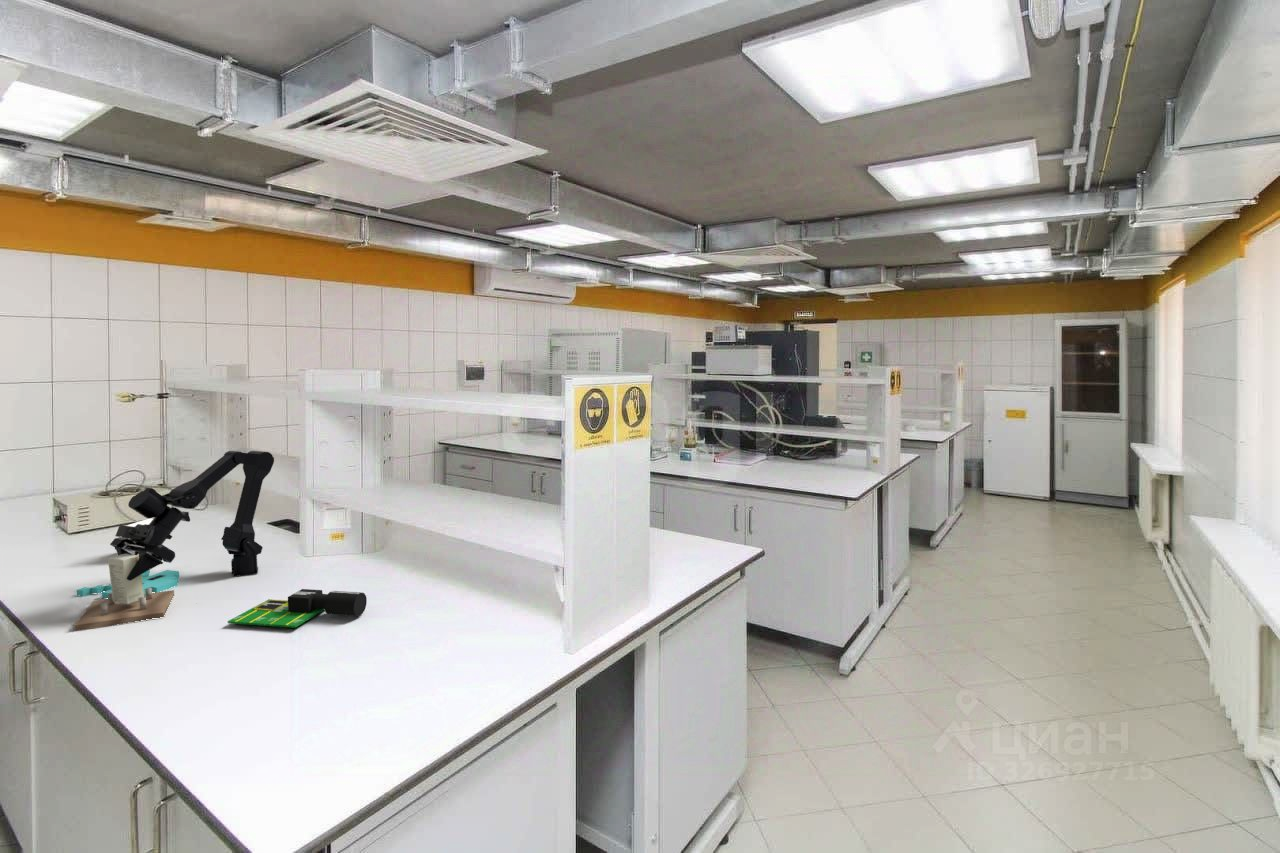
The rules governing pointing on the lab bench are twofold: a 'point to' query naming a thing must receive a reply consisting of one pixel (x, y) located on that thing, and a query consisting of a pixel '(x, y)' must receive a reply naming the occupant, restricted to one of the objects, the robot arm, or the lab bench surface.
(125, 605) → the peg board
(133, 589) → the skincare box
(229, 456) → the robot arm
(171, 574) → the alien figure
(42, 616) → the lab bench surface
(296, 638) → the lab bench surface
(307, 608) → the circuit board with cylinder
